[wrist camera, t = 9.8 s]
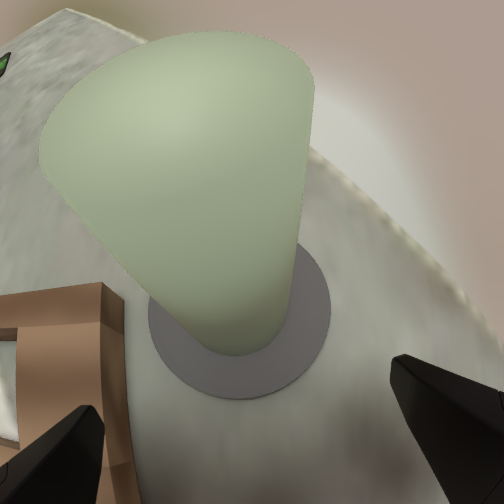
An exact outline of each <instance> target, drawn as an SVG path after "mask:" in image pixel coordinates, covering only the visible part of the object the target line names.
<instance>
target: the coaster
mask: <svg viewBox="0 0 504 504" xmlns="http://www.w3.org/2000/svg"><path fill="white" fill-rule="evenodd" d="M330 315H331V303H330V296H329V290H328V287H327V283H326V280H325V278H324V276H323V273H322V271H321V269H320V268H319V266H318V265H317V263H316V261H315V260H314V259H313V258H312V256H311V255H310V254H309V253H308V252H307V251H306V250H305V249H304V248H303V247H302V246H301V245H300V244H298V243H297V248H296V255H295V262H294V268H293V275H292V282H291V288H290V295H289V301H288V307H287V314H286V318H285V322H284V324H283V326H282V329H281V330H280V332H279V333H278V335H277V336H276V337H275V339H274V340H273V341H272V342H271V343H269V344H268V345H267V346H266V347H264V348H263V349H261V350H259V351H257V352H254V353H252V354H249V355H244V356H226V355H221V354H218V353H215V352H213V351H211V350H209V349H207V348H206V347H204V346H203V345H202V344H201V343H199V342H198V341H197V340H196V339H195V338H194V337H193V336H192V335H191V334H190V333H189V332H187V331H186V330H185V329H184V328H183V327H182V326H181V325H180V324H179V323H178V322H177V321H176V320H175V319H174V318H173V317H172V316H171V315H170V314H168V313H167V312H166V311H165V310H164V309H163V308H162V307H161V306H160V305H159V304H158V303H157V302H156V301H155V300H154V299H153V298H152V297H151V296H150V299H149V307H148V320H149V328H150V333H151V337H152V340H153V342H154V345H155V348H156V350H157V352H158V353H159V355H160V357H161V359H162V360H163V361H164V363H165V364H166V365H167V367H168V368H169V369H170V370H171V371H172V372H173V373H174V374H175V375H176V376H177V377H178V378H180V379H181V380H182V381H184V382H185V383H186V384H188V385H189V386H191V387H193V388H195V389H197V390H199V391H201V392H204V393H207V394H209V395H213V396H218V397H222V398H231V399H247V398H255V397H260V396H264V395H267V394H270V393H273V392H275V391H277V390H279V389H281V388H283V387H285V386H287V385H288V384H290V383H291V382H292V381H294V380H295V379H297V378H298V377H299V376H300V375H301V374H302V373H303V372H304V371H305V370H306V369H307V368H308V367H309V366H310V364H311V363H312V362H313V361H314V359H315V358H316V356H317V355H318V353H319V351H320V350H321V348H322V346H323V343H324V341H325V338H326V336H327V332H328V328H329V324H330Z"/></svg>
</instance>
